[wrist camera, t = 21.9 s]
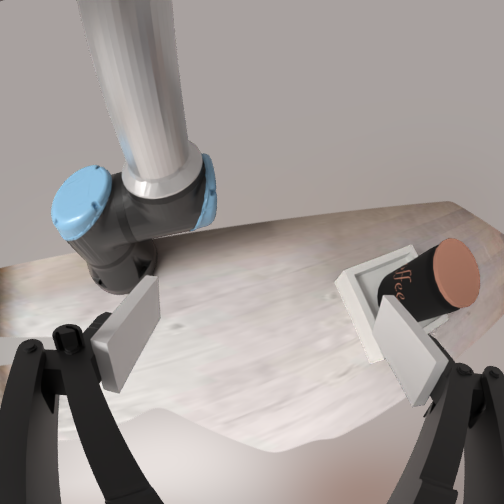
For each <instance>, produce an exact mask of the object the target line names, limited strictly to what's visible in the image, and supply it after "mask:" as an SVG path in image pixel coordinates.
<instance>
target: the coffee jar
mask: <svg viewBox="0 0 504 504" xmlns="http://www.w3.org/2000/svg"><path fill="white" fill-rule="evenodd" d="M479 289H480V274H479V270H478V266H477V263H476V261H475V258H474V256H473V254H472V253H471V251H470V250H469V248H468V247H467V246H466V245H465V244H464V243H463V242H461V241H459V240H457V239H452V238H448V239H446V240H444V241H442V242H441V243H440V244H439V245H437V246H435V247H433V248H431V249H429V250H428V251H426V252H425V253H423V254H421V255H420V256H418V257H416V258H415V259H413V260H411V261H410V262H408V263H406V264H405V265H403V266H401V267H400V268H398V269H396V270H395V271H393V272H391V273H389V274H388V275H386V276H385V277H384V278H383V279H382V281H381V283H380V286H379V288H378V294H377V301H378V306H379V308H380V305H381V301H382V298H383V295H394V296H395V297H396V298H397V300H398V301H399V302H400V303H401V304H402V305H403V306H404V307H405V309H406V310H407V311H408V312H409V313H410V314H411V315H412V317H413V318H414V319H415V320H416V321H417V322H421V321H424V320H428V319H431V318H435V317H438V316H441V315H445V314H448V313H451V312H454V311H457V310H459V309H460V308H463V307H468V306H470V305H471V304H472V303H474V302H475V300H476V298H477V296H478V294H479Z"/></svg>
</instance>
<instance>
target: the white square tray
mask: <svg viewBox="0 0 504 504" xmlns="http://www.w3.org/2000/svg"><path fill="white" fill-rule="evenodd" d="M416 257H418V255H417V253H416V251H415V249H414V247H413V246H412V244H411V245H408V246H406V247H403V248H401V249H398V250H396V251H393V252H391V253H388V254H385V255H383V256H380V257H378V258H375V259H372V260H370V261H367V262H364V263H362V264H359V265H356V266H353V267H351V268H348V269H345V270H343V272H342V273H341V274H340V276H339V277H338V278H337V279H336V281H335V282H334V283H335V285H336V287H337V289H338V291H339V294H340V296H341V298H342V300H343V302H344V305H345V307H346V309H347V311H348V314H349V316H350V318H351V320H352V323H353V325H354V327H355V330H356V332H357V334H358V337H359V339H360V341H361V344H362V346H363V348H364V351H365V353H366V356H367V358H368V361H369V363H370V364H372V363H375V362H379V361H382V360H385V359H386V358H385V356H384V354H383V353H382V351H381V349H380V347H379V346H378V344H377V342H376V341H375V339H374V337H373V335H372V331H373V328H374V325H375V321H376V318H377V315H378V311H379V306H378V301H377V294H378V288H379V286H380V283H381V281H382V279H383V278H384V277H385V276H386V275H388V274H389V273H391V272H393V271H395V270H396V269H398V268H400V267H401V266H403V265H405V264H406V263H408V262H410V261H411V260H413V259H415V258H416ZM448 320H449V318H448V316H447V314H445V315H441V316H438V317H435V318H431V319H428V320H424V321H421V322H418V324H419V325H420V326H421V327H422V328H423V329H424V331H425V332H426V333H427V334H428V333H430V332H431V331H433V330H434V329H436V328H437V327H439V326H440V325H442V324H443V323H445V322H446V321H448Z"/></svg>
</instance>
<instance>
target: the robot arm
mask: <svg viewBox="0 0 504 504" xmlns="http://www.w3.org/2000/svg"><path fill="white" fill-rule="evenodd" d="M0 1H3V0H0ZM77 3H78V7H79V12H80V16H81V21H82V25H83V29H84V33H85V37H86V41H87V45H88V48H89V52H90V55H91V59H92V62H93V66H94V69H95V73H96V76H97V79H98V82H99V86H100V89H101V92H102V94H103V98H104V101H105V104H106V107H107V110H108V112H109V116H110V119H111V121H112V124H113V127H114V130H115V133H116V135H117V138H118V141H119V143H120V146H121V148H122V151H123V154H124V156H125V159H126V161H125V163H124V166H123V169H122V172H120V173H116V174H113V175H111V174H110V173H109V172H108V170H106V169H105V168H103V167H100V166H97V165H92V166H87V167H84V168H82V169H80V170H78V171H77V172H75V173H74V174H72V175H71V176H70V177H69V178H68V179H67V180H66V181H65V182H64V184H63V185H62V186H61V187H60V188H59V190H58V192H57V193H56V195H55V198H54V200H53V204H52V209H51V216H52V220H53V223H54V225H55V227H56V228H57V229H58V231H59V232H60V235H61V236H62V238H64V239H65V240H66V241H67V242H68V243H69V244H70V245H71V246H72V248H73V249H74V250H75V251H76V252H77V253H78V254H79V255H80V256H81V257H82V258H83V259H84V260H85V261H86V262H87V265H88V269H89V272H90V275H91V277H92V279H93V280H94V281H95V283H96V284H97V285H98V286H99V287H101V288H102V289H103V290H104V291H106V292H108V293H111V294H116V295H122V294H128V293H130V294H129V295H128V296H127V297H126V298H125V299H124V300H123V302H122V303H121V304H120V305H119V306H118V307H117V308H116V310H115V311H114V312H113V313H109V312H105V313H103V314H101V315H99V316H98V317H97V318H96V319H95V320H94V321H93V323H92V324H91V325H90V326H89V328H87V329H86V330H85V331H84V333H82V330H81V328H80V327H79V326H77V325H73V324H66V325H62V326H59V327H58V328H56V329H55V330H54V331H53V335H52V336H53V340H54V343H55V346H56V349H57V350H45V349H44V347H43V344H42V342H40V341H39V340H36V339H30V340H26V341H24V342H22V343H21V344H20V345H19V347H18V349H17V351H16V354H15V357H14V360H13V364H12V367H11V370H10V373H9V377H8V380H7V384H6V388H5V391H4V395H3V399H2V404H1V408H0V504H61V497H60V487H59V474H58V449H57V447H58V446H57V442H58V408H59V395H67V398H68V402H69V406H70V409H71V413H72V416H73V419H74V423H75V426H76V429H77V432H78V435H79V438H80V441H81V443H82V446H83V449H84V452H85V454H86V457H87V459H88V462H89V464H90V467H91V469H92V471H93V474H94V476H95V478H96V481H97V483H98V485H99V487H100V489H101V491H102V493H103V495H104V498H105V503H106V504H164V503H163V502H162V500H161V499H160V497H159V496H158V495H157V493H156V491H155V490H154V489H153V488H152V487H151V485H150V484H149V482H148V481H147V479H146V478H145V476H144V474H143V473H142V471H141V469H140V468H139V466H138V464H137V462H136V461H135V459H134V457H133V455H132V454H131V452H130V450H129V448H128V446H127V444H126V442H125V440H124V438H123V436H122V434H121V432H120V431H119V428H118V426H117V424H116V422H115V420H114V418H113V416H112V413H111V411H110V409H109V407H108V404H107V402H106V400H105V397H104V395H103V393H102V390H101V388H100V385H99V383H100V382H101V381H102V384H103V388H104V390H108V391H111V392H115V393H120V391H121V389H122V388H123V386H124V384H125V382H126V380H127V378H128V376H129V374H130V373H131V371H132V369H133V367H134V365H135V363H136V361H137V360H138V358H139V356H140V354H141V352H142V350H143V349H144V347H145V345H146V343H147V341H148V340H149V338H150V336H151V334H152V332H153V331H154V329H155V327H156V325H157V324H158V322H159V320H160V302H159V282H158V277H157V276H151V275H152V273H153V271H154V269H155V266H156V261H157V252H156V247H155V245H154V243H153V241H152V239H153V238H158V237H162V236H167V235H172V234H177V233H182V232H187V231H194V230H196V229H198V228H201V227H205V226H208V225H210V224H211V223H212V222H213V221H214V219H215V216H216V209H217V194H216V180H215V173H214V168H213V164H212V161H211V158H210V156H209V155H207V154H202V153H201V152H200V150H199V149H198V147H197V146H196V145H195V144H194V143H192V142H191V141H189V140H188V135H187V129H186V121H185V114H184V107H183V99H182V93H181V84H180V76H179V67H178V58H177V49H176V40H175V29H174V19H173V8H172V0H77ZM372 335H373V337H374V339H375V341H376V342H377V344H378V346H379V347H380V349H381V351H382V353H383V354H384V356H385V358H386V360H387V361H388V363H389V365H390V367H391V369H392V370H393V372H394V374H395V376H396V378H397V380H398V381H399V383H400V385H401V387H402V389H403V391H404V392H405V394H406V396H407V398H408V400H409V402H410V404H411V405H412V407H416V406H421V405H425V403H426V401H427V400H428V398H429V396H431V398H432V400H433V402H432V403H431V405H430V407H429V408H428V410H427V411H426V413H425V415H424V416H423V417H426V419H425V421H424V424H423V427H422V430H421V432H420V435H419V437H418V440H417V443H416V445H415V447H414V450H413V452H412V454H411V456H410V459H409V461H408V463H407V465H406V468H405V470H404V472H403V474H402V476H401V478H400V480H399V482H398V484H397V486H396V488H395V490H394V491H393V493H392V495H391V497H390V499H389V500H388V502H387V504H455V503H456V500H457V496H458V492H457V490H453V485H454V482H455V479H456V475H457V472H458V468H459V465H460V461H461V457H462V452H463V448H464V457H465V480H464V501H463V504H504V374H503V373H502V371H501V370H500V369H499V368H497V367H493V366H488V367H486V368H485V370H484V372H483V374H475V373H474V372H473V370H472V369H471V368H470V367H469V366H468V365H466V364H462V363H455V362H454V360H453V359H452V358H451V357H450V355H449V354H448V353H447V352H446V350H444V348H443V347H442V346H441V344H440V343H439V342H438V341H437V340H436V339H435V338H434V337H432V336H431V335H429V334H427V333H426V332H425V331H424V329H423V328H422V327H421V326H420V325H419V324H418V322H417V321H416V320H415V319H414V318H413V317H412V315H411V314H410V313H409V312H408V311H407V310H406V309H405V307H404V306H403V305H402V304H401V303H400V302H399V301H398V300H397V298H396V297H395V296H394V295H383V298H382V301H381V305H380V308H379V311H378V315H377V318H376V321H375V325H374V328H373V331H372ZM426 415H427V416H426Z"/></svg>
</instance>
